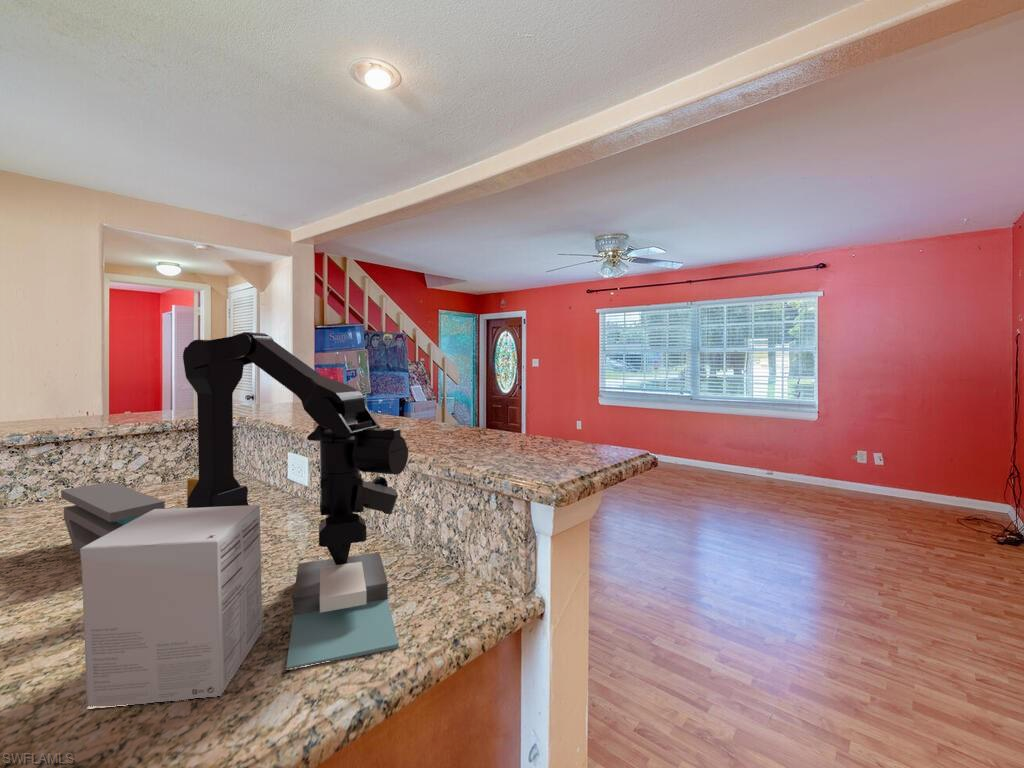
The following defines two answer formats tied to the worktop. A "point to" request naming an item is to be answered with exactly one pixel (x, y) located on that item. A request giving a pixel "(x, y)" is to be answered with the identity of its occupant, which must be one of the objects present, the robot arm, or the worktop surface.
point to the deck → (309, 572)
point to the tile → (342, 586)
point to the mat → (341, 634)
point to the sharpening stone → (103, 510)
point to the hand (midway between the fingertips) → (341, 568)
